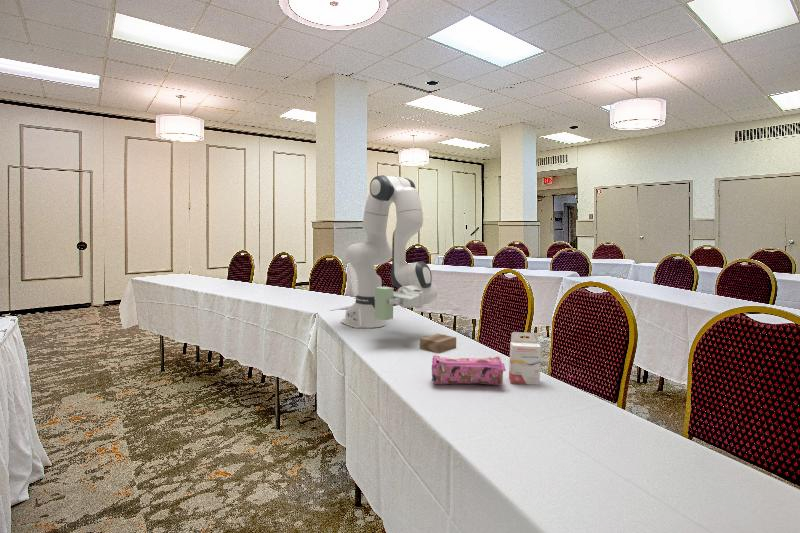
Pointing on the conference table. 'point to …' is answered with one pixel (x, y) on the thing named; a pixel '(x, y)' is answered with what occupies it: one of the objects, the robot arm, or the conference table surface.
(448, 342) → the walnut block
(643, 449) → the conference table surface
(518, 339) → the ink cartridge box
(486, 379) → the pencil case
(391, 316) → the sage pillar block
